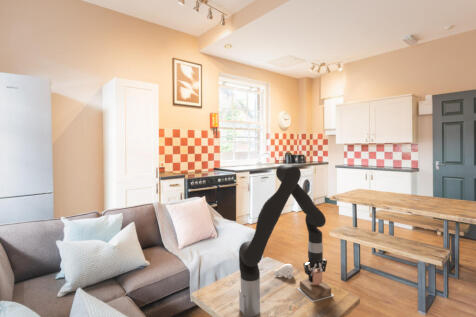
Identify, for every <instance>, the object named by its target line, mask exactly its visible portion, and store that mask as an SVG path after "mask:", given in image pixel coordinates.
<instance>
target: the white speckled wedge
mask: <svg viewBox="0 0 476 317" xmlns="http://www.w3.org/2000/svg"><path fill="white" fill-rule="evenodd" d="M293 274H294V265H292V263H285V264H283V265H282V266H280V267H279V268H278V269H277V268H276V269H274V270H273V275H274V276H275V277H276V278H279V276H281V277H283V278H284V279H287V280H291V279H292V278H293Z"/></svg>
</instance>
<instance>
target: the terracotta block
mask: <svg viewBox="0 0 476 317" xmlns="http://www.w3.org/2000/svg"><path fill="white" fill-rule="evenodd" d="M310 273H311V271H310ZM312 276H313V282H311V283H312V284H313V285H317V284H321V283H322V282H323V273H322V272H321V271H320V270H318V269H317V268H316V269H315V271H314V272H313V275H312ZM307 280H308V281H309V279H307Z"/></svg>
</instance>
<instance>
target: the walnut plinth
mask: <svg viewBox="0 0 476 317" xmlns="http://www.w3.org/2000/svg"><path fill="white" fill-rule="evenodd" d="M299 287H300V289H301V290H302V291H303V292H305V293H306V294H307V295H308V296H309V297H310V298H312V299H313V300H317V299H321V298H324V297H328V296H331V294H332V288H331V286H329V285H328V284H326V283H325V282H323V281H322V283H321V284H317V285H313V284H312V283H311V282H310V281H308V279H303V280H300V281H299Z"/></svg>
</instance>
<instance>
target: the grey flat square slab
mask: <svg viewBox="0 0 476 317" xmlns="http://www.w3.org/2000/svg"><path fill="white" fill-rule="evenodd" d="M296 290H298V291H299V292H300V293H301V294H302V295H304V296H305V298H307V299H308V300H309V301H311V303H315V302H319V301H323V300H326V299H328V298H329V299H330V298H332V297H335V294H333V293H331V296H328V297H324V298H321V299H317V300H313V299H312V298H310V297H309V296H308V295H307V294H306V293H305V292H303V291H302V290H301V289H300V286H299V287H296Z"/></svg>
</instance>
